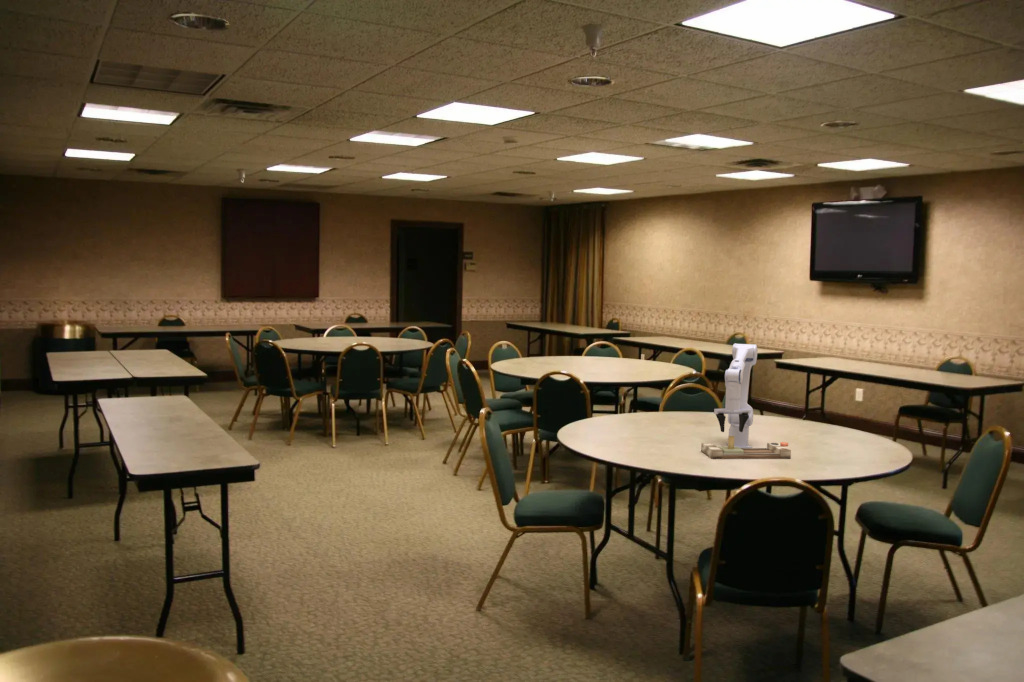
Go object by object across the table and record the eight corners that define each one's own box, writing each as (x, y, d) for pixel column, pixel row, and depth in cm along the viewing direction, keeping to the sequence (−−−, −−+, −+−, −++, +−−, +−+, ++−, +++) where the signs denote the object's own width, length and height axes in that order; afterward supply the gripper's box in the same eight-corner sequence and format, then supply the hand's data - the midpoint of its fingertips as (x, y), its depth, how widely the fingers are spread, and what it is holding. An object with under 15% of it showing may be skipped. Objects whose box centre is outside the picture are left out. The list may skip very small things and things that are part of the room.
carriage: (718, 450, 324) (718, 434, 324) (737, 450, 325) (737, 434, 325) (724, 453, 318) (724, 438, 317) (743, 453, 318) (744, 438, 318)
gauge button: (778, 444, 319) (779, 442, 319) (786, 445, 319) (786, 442, 319) (782, 446, 316) (782, 443, 316) (789, 446, 316) (789, 443, 316)
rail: (701, 451, 328) (701, 442, 327) (776, 451, 330) (776, 442, 330) (712, 458, 314) (712, 449, 313) (790, 458, 316) (791, 449, 316)
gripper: (718, 399, 315) (717, 433, 316) (754, 400, 316) (752, 433, 317) (712, 397, 322) (711, 430, 323) (747, 397, 323) (746, 430, 324)
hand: (731, 431), depth 321 cm, fingers open, 7 cm apart
